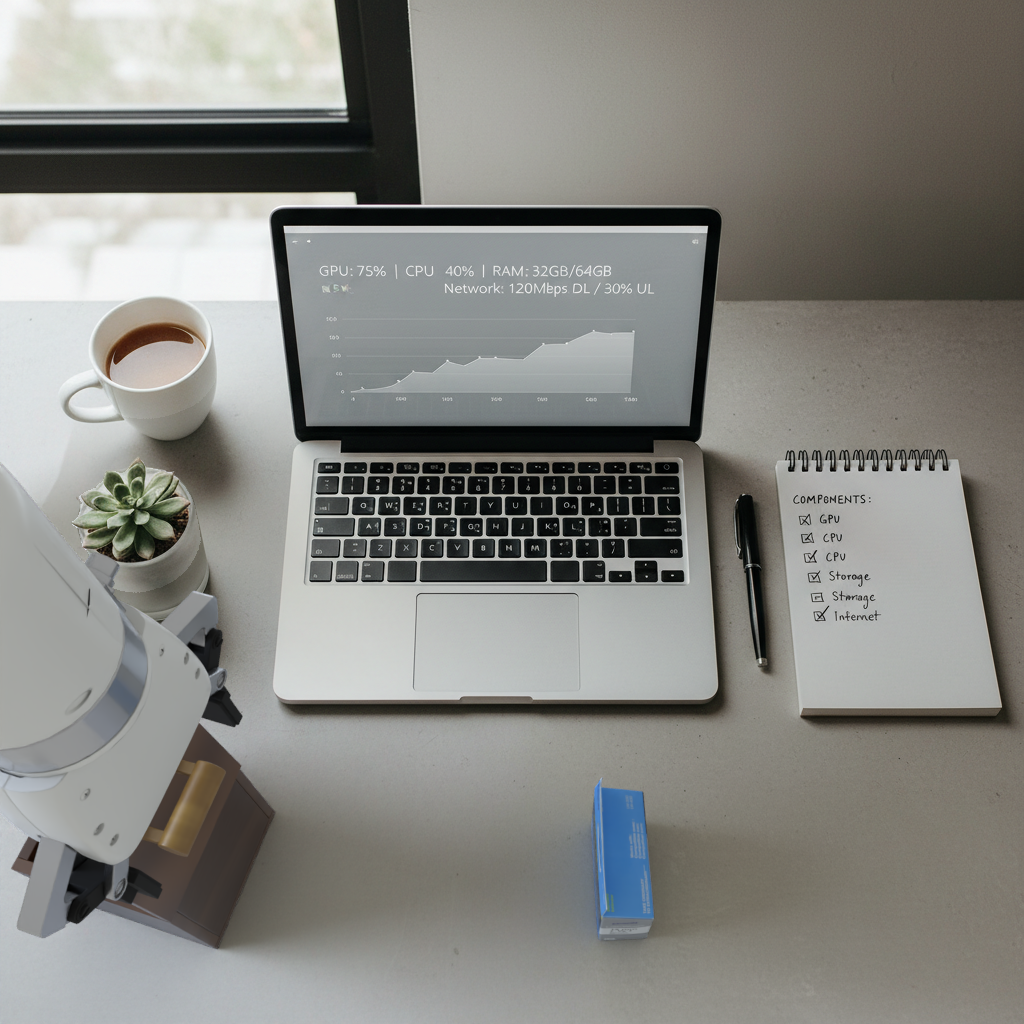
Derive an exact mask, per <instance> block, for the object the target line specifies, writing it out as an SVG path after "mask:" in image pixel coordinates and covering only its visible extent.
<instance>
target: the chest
mask: <svg viewBox="0 0 1024 1024" xmlns="http://www.w3.org/2000/svg"><path fill="white" fill-rule="evenodd" d="M275 814H276V811H275V810H274V808H272V806H271V804H270V803H268V801H267V800H266V799H265V798H264V796H263V795H262V794H261V793H260V792H259V790H258V789H257V788H256V787H255V785H254V784H253V783H252V781H251V780H249V778H248V777H247V776H246V774H245V773H244V772H243V770H241V769H240V771H239V773H238V775H237V777H236V780H235V782H234V784H233V786H232V789H231V791H230V793H229V795H228V797H227V800H226V802H225V804H224V806H223V809H222V811H221V813H220V815H219V817H218V820H217V822H216V824H215V826H214V828H213V831H212V833H211V835H210V837H209V840H208V842H207V844H206V846H205V848H204V851H203V853H202V855H201V857H200V860H199V862H198V864H197V866H196V868H195V871H194V873H193V875H192V877H191V880H190V882H189V884H188V886H187V888H186V891H185V893H184V895H183V897H182V900H181V902H180V904H179V906H178V908H177V911H176V913H175V915H174V917H173V920H172V922H167V921H164V920H161V919H159V918H157V917H155V916H153V915H152V914H150V913H148V912H146V911H144V910H142V909H140V908H138V907H136V906H134V905H131V904H127V903H124V902H121V901H118V900H117V901H114V900H111V899H108V898H106V899H105V900H104V901H103V902H102V903H101V904H100V905H99V906H97V907H96V908H95V909H97V910H100V911H103V912H106V913H109V914H112V915H114V916H117V917H120V918H124V919H126V920H129V921H132V922H135V923H138V924H141V925H144V926H147V927H150V928H153V929H156V930H159V931H161V932H163V933H167V934H171V935H172V936H175V937H179V938H182V939H184V940H188V941H191V942H193V943H196V944H199V945H202V946H205V947H208V948H211V949H214V950H218V949H219V947H220V945H221V942H222V940H223V937H224V935H225V933H226V930H227V928H228V925H229V924H230V921H231V918H232V916H233V913H234V911H235V909H236V907H237V904H238V902H239V900H240V897H241V894H242V892H243V890H244V887H245V885H246V883H247V880H248V878H249V876H250V873H251V871H252V869H253V867H254V864H255V861H256V859H257V857H258V854H259V852H260V850H261V847H262V844H263V842H264V840H265V838H266V835H267V833H268V831H269V828H270V826H271V824H272V821H273V818H274V816H275ZM38 846H39V842H38V841H36V840H34V839H32V838H31V837H29V836H27V838H26V839H25V842H24V844H23V845H22V847H21V849H20V851H19V853H18V854H17V857H16V858H15V860H14V861H13V864H12V866H11V868H10V869H11V870H12V871H14V872H16V873H18V874H20V875H22V876H24V877H26V878H28V879H29V878H30V875H31V871H32V867H33V864H34V860H35V857H36V853H37V849H38Z"/></svg>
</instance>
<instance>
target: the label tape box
mask: <svg viewBox="0 0 1024 1024" xmlns="http://www.w3.org/2000/svg"><path fill="white" fill-rule="evenodd" d="M603 779H604V778H603V777H601V778H600V779H599V781H598V782H597V784H595V786H594V791H593V801H592V802H593V804H592V811H591V812H592V814H591V822H590V823H591V824H590V826H591V827H590V828H591V829H590V830H591V831H590V832H591V854H592V871H593V872H592V873H593V888H594V889H593V890H594V891H593V892H594V905H595V906H594V907H595V918H596V933H597V940H598V941H618V940H619V941H621V940H640V939H641V940H642V939H648V935H649V932H650V929H651V927H652V926H653V922H654V921H655V909H654V897H653V896H654V895H653V884H652V874H651V863H650V862H651V861H650V853H649V851H650V850H649V841H648V827H647V819H646V818H647V817H646V806H645V794H644V791H643V790H634V789H625V788H613V787H604V786H602V783H603Z"/></svg>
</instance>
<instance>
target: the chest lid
mask: <svg viewBox="0 0 1024 1024" xmlns="http://www.w3.org/2000/svg"><path fill="white" fill-rule="evenodd" d="M241 769H242V765H241V764H240V762H239V761H238V760H236V758H235V757H234V756H233V755H232V754H231V753H230V752H229V751H228V750H227V749H226V747H224V746H223V745H222V744H221V743H220V742H219V741H218V740H217V739H216V737H214V736H213V735H212V734H211V733H210V732H209V731H208V730H207V729H206V728H205V727H204V726H203V725H202V724H201V723H200V722H199V724H198V726H197V728H196V730H195V732H194V734H193V736H192V739H191V741H190V743H189V745H188V747H187V749H186V751H185V753H184V755H183V757H182V759H181V761H180V764H179V766H178V768H177V770H176V772H175V774H174V776H173V778H172V780H171V782H170V784H169V786H168V788H167V790H166V792H165V794H164V796H163V798H162V800H161V803H160V804H159V806H158V808H157V810H156V812H155V814H154V816H153V818H152V820H151V822H150V824H149V826H148V828H147V830H146V832H145V834H144V836H143V838H142V839H141V841H140V843H139V844H138V846H137V848H136V849H135V850H134V852H133V853H132V854H131V855H130V856H129V866H130V867H133V868H136V869H139V870H141V871H142V872H144V873H145V874H147V875H149V876H150V877H152V878H153V879H155V880H156V881H158V882H159V883H161V884H162V886H161V888H162V889H163V890H162V892H161V894H160V896H159V899H156V898H152V897H149V896H146V895H143V894H141V893H138V892H137V894H136V896H135V898H134V900H133V902H132V905H134V906H136V907H138V908H140V909H142V910H144V911H146V912H148V913H150V914H152V915H153V916H155V917H157V918H159V919H161V920H164V921H167V922H172V920H173V917H174V915H175V913H176V911H177V908H178V906H179V904H180V902H181V900H182V897H183V895H184V893H185V891H186V888H187V886H188V884H189V882H190V880H191V877H192V875H193V873H194V871H195V868H196V866H197V864H198V862H199V860H200V857H201V855H202V853H203V851H204V848H205V846H206V844H207V842H208V840H209V837H210V835H211V833H212V831H213V828H214V826H215V824H216V822H217V820H218V817H219V815H220V813H221V811H222V809H223V806H224V804H225V802H226V800H227V797H228V795H229V793H230V791H231V789H232V786H233V784H234V782H235V780H236V777H237V775H238V773H239V771H240V770H241Z"/></svg>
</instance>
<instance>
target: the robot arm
mask: <svg viewBox="0 0 1024 1024" xmlns="http://www.w3.org/2000/svg"><path fill="white" fill-rule="evenodd" d="M120 569H121V565H120V564H119V563H118V562H117V561H116V560H115V559H113V558H112V557H110V556H107V555H105V554H103V553H99V552H91V553H90V554H89V556H88V557H87V559H86V560H85V562H84V561H83V560H82V558H81V557H80V556H79V555H78V553H77V552H76V551H75V550H74V548H73V547H72V546H71V545H70V543H69V542H68V541H67V540H66V538H65V537H64V536H63V535H62V534H61V532H60V531H59V530H58V529H57V527H56V526H55V525H54V523H53V522H52V521H51V520H50V519H49V517H48V516H47V515H46V513H45V512H44V511H43V510H42V509H41V507H40V506H39V505H38V504H37V502H36V501H35V500H34V499H33V497H32V496H31V495H30V494H29V492H28V491H27V490H26V488H24V486H23V485H22V484H21V483H20V481H19V480H18V479H17V478H16V477H15V476H14V475H13V474H12V473H11V471H9V469H8V468H7V466H5V465H4V464H3V463H2V462H1V461H0V815H1V816H2V817H3V818H4V819H5V820H6V821H8V822H9V823H10V824H12V825H13V826H14V828H16V829H18V831H20V832H22V833H23V834H24V835H25V836H27V837H28V836H29V837H31V838H32V839H34V840H36V841H38V842H39V846H38V849H37V853H36V857H35V860H34V864H33V867H32V871H31V875H30V878H28V882H27V886H26V889H25V893H24V896H23V900H22V904H21V907H20V910H19V914H18V918H17V921H16V929H17V930H18V931H21V932H23V933H26V934H29V935H32V936H35V937H36V938H37V937H38V938H40V939H46V938H48V937H50V936H52V935H54V934H55V933H57V932H60V931H61V930H63V929H64V928H66V925H68V924H70V923H72V924H75V925H78V924H81V923H82V922H83V921H84V920H85V919H86V918H88V916H89V915H90V914H91V913H92V912H93V911H94V910H95V909H97V908H96V907H97V906H99V905H100V904H101V903H102V902H103V901H104V900H105V899H106V898H108V899H111V900H114V901H117V900H118V901H121V902H124V903H127V904H131V905H132V902H133V900H134V898H135V896H136V894H137V892H138V893H141V894H143V895H146V896H149V897H152V898H156V899H159V896H160V894H161V892H162V890H163V889H162V888H161V886H162V884H161V883H159V882H158V881H156V880H155V879H153V878H152V877H150V876H149V875H147V874H145V873H144V872H142V871H141V870H139V869H136V868H133V867H130V866H129V856H130V855H131V854H132V853H133V852H134V850H135V849H136V848H137V846H138V844H139V843H140V841H141V839H142V838H143V836H144V834H145V832H146V830H147V828H148V826H149V824H150V822H151V820H152V818H153V816H154V814H155V812H156V810H157V808H158V806H159V804H160V803H161V800H162V798H163V796H164V794H165V792H166V790H167V788H168V786H169V784H170V782H171V780H172V778H173V776H174V774H175V772H176V770H177V768H178V766H179V764H180V761H181V759H182V757H183V755H184V753H185V751H186V749H187V747H188V745H189V743H190V741H191V739H192V736H193V734H194V732H195V730H196V728H197V726H198V724H199V723H200V721H201V720H202V719H203V720H207V721H211V722H214V723H218V724H221V725H224V726H228V727H232V728H236V727H237V726H239V725H240V724H241V721H242V719H243V714H242V713H241V711H240V710H239V709H238V707H237V705H235V703H234V701H233V700H232V699H231V697H232V696H231V695H232V694H231V693H230V691H229V690H228V689H227V687H226V686H225V684H226V682H227V678H228V670H227V669H226V668H224V667H220V661H221V660H220V659H221V653H222V645H223V643H224V638H223V631H222V629H219V628H217V624H218V623H219V608H218V607H219V605H218V598H217V596H215V595H212V594H208V593H204V592H201V591H197V590H193V591H191V592H190V593H189V594H188V595H187V596H186V597H185V598H184V599H183V600H182V601H181V602H180V603H179V604H178V605H177V607H175V609H173V610H172V612H170V613H169V614H168V615H167V616H166V617H165V619H163V620H162V622H161V623H160V622H158V621H157V620H156V619H153V617H151V616H149V615H148V614H146V613H144V612H143V611H141V610H140V609H138V608H136V607H135V606H132V605H131V604H129V603H127V602H126V601H123V600H121V599H119V598H117V597H116V596H115V591H116V590H115V589H114V586H115V581H114V579H115V577H116V576H117V574H118V572H119V571H120Z"/></svg>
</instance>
